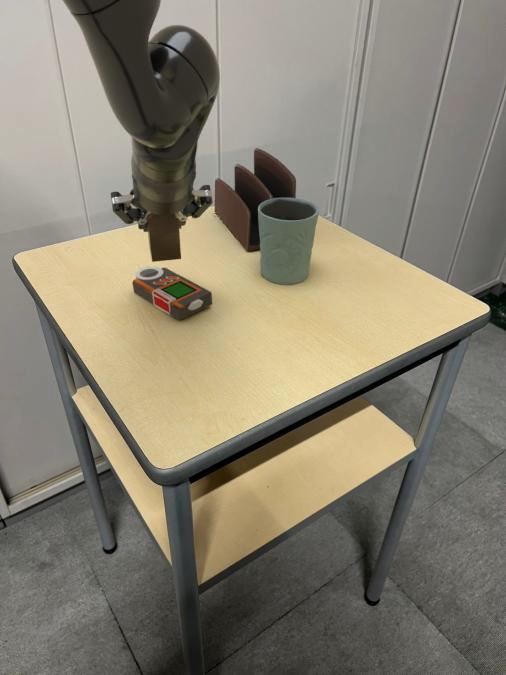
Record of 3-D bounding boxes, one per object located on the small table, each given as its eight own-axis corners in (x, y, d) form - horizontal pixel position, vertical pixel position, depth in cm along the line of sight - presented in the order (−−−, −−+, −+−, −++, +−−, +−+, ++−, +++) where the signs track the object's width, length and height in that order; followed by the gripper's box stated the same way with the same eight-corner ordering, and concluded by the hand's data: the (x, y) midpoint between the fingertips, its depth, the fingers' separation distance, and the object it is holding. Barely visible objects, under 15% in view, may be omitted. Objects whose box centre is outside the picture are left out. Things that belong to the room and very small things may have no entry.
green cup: (273, 291, 87) (277, 225, 79) (245, 265, 94) (246, 202, 87) (323, 278, 91) (331, 213, 83) (293, 254, 98) (297, 192, 91)
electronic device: (156, 261, 89) (212, 290, 80) (158, 276, 91) (213, 307, 82) (122, 274, 85) (178, 307, 77) (125, 289, 87) (180, 323, 78)
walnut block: (152, 262, 78) (146, 211, 73) (149, 249, 81) (144, 200, 76) (181, 259, 79) (177, 209, 74) (177, 246, 82) (173, 197, 77)
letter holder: (256, 206, 116) (258, 142, 107) (294, 244, 101) (300, 173, 92) (214, 212, 112) (212, 146, 104) (247, 252, 98) (248, 179, 89)
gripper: (216, 140, 65) (203, 197, 81) (99, 147, 62) (110, 205, 78) (226, 197, 64) (211, 243, 80) (107, 206, 61) (116, 252, 77)
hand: (161, 224), depth 79 cm, fingers closed on walnut block, 4 cm apart
